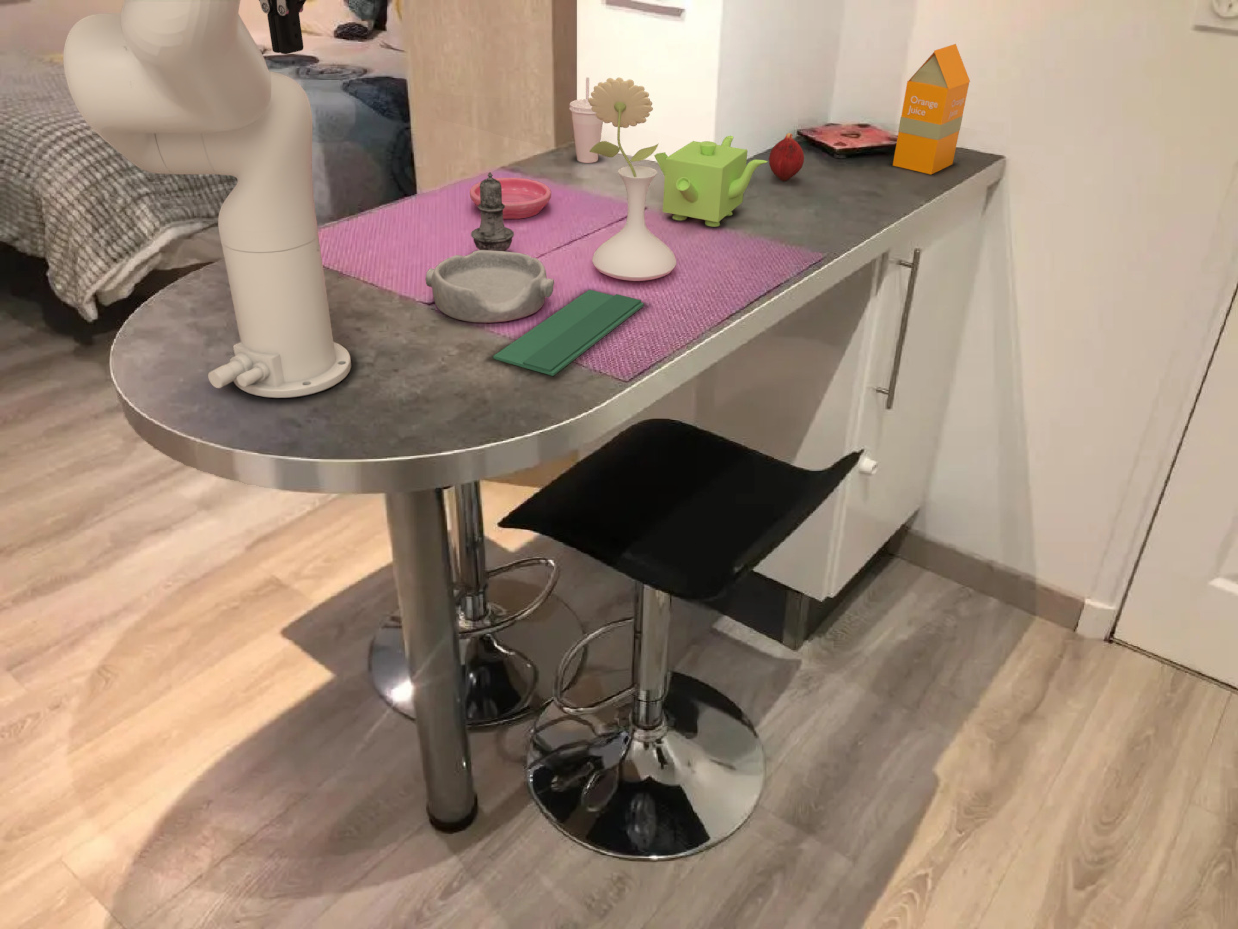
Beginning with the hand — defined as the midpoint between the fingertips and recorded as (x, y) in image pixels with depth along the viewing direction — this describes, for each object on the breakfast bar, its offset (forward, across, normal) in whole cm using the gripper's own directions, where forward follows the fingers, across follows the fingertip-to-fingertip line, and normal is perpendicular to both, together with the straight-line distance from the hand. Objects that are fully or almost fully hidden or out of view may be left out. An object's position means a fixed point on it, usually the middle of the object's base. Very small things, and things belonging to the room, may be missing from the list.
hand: (288, 50), depth 114 cm
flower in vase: (+29, +30, +27) cm, 50 cm away
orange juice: (+29, +52, +99) cm, 116 cm away
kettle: (+29, +30, +53) cm, 68 cm away
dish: (+29, +20, +8) cm, 36 cm away
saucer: (+29, +3, +39) cm, 49 cm away
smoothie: (+29, 0, +68) cm, 74 cm away
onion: (+29, +34, +76) cm, 88 cm away
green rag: (+29, +33, +7) cm, 45 cm away
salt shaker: (+29, +12, +21) cm, 38 cm away
